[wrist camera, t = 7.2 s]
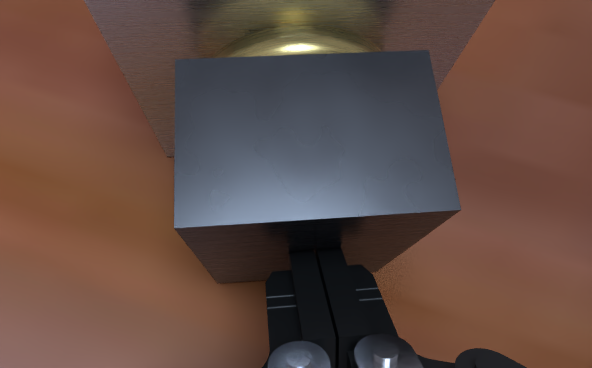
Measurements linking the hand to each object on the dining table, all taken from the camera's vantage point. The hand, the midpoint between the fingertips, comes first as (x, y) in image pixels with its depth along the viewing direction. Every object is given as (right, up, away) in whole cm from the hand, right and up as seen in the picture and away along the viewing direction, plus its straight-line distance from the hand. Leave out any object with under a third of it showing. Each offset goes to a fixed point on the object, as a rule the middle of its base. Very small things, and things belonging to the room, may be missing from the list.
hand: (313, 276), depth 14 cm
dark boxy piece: (-1, +8, +7) cm, 11 cm away
